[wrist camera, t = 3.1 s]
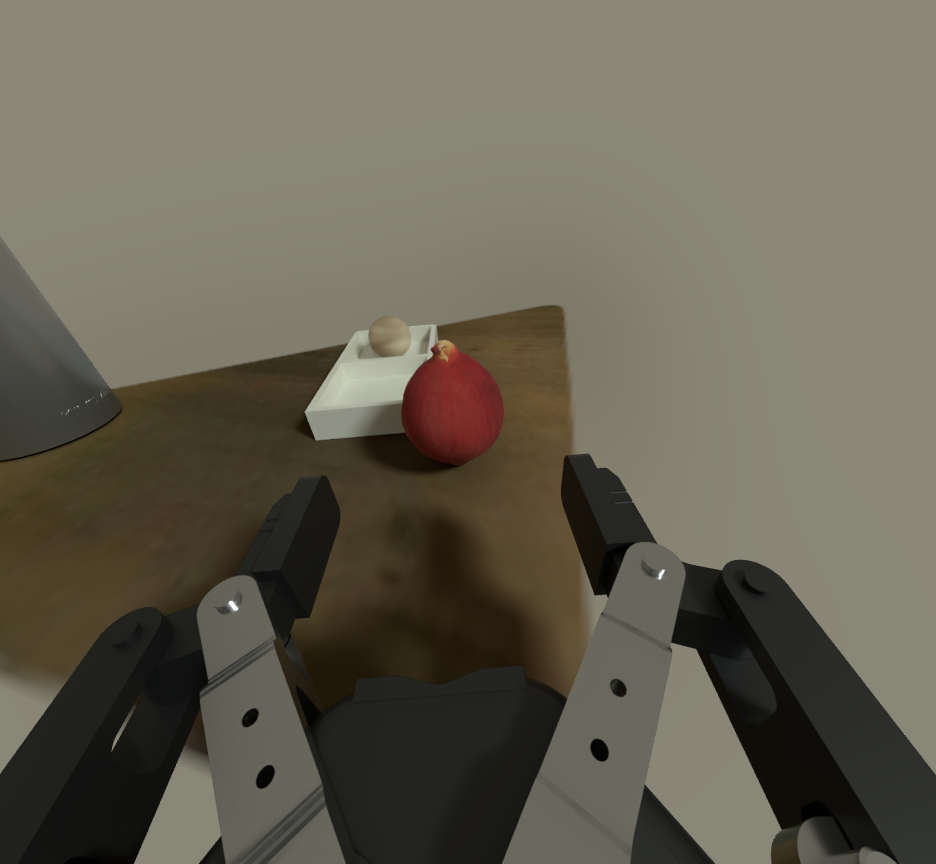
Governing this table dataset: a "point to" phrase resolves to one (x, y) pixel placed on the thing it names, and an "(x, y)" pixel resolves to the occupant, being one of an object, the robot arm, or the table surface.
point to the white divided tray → (367, 388)
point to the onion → (452, 407)
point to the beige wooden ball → (389, 337)
